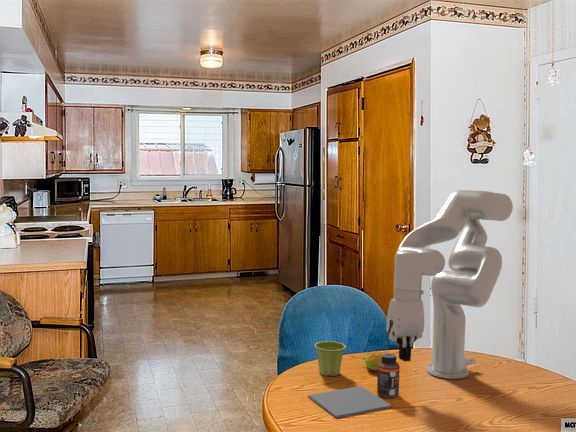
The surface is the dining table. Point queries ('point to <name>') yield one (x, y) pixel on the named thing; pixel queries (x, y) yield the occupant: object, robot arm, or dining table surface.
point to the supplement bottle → (388, 376)
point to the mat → (349, 401)
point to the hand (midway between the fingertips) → (404, 359)
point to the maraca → (373, 360)
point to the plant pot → (329, 357)
